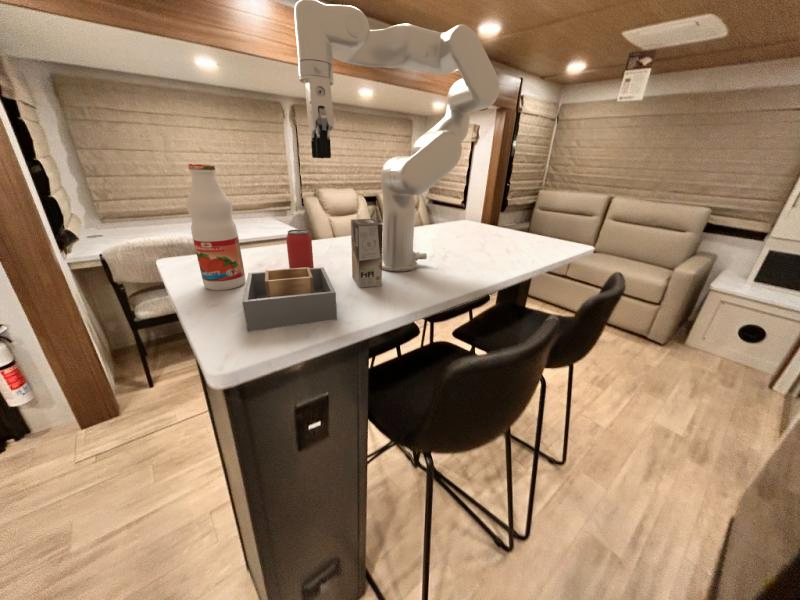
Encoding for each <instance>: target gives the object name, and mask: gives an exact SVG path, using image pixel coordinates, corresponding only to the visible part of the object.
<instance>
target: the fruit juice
mask: <svg viewBox="0 0 800 600" xmlns="http://www.w3.org/2000/svg"><path fill="white" fill-rule="evenodd" d="M188 169H189V172H190V173H191V185H190V190H189V194H188V196H187V198H186V201H185V207H186V211H187V212H188V214H189V216H190V219H191V224H190V225H191V227H190V230H191V236H192V240H193V245H194V247H195V252H196V253H195V254H196V257H197V261H198V266H199V269H200V274H201V279H202V283H203V285H204V288H206V289H207V290H211V291H226V290H232V289H235V288H240V287H241V286H243V285H244V284H246V274H245V268H244V261H243V257H242V251H241V246H240V240H239V232H238V229H237V225H236V223H235V222H234V219H233V210H234V207H233V205H232V202H231V200H230V198H229V196H228V195H226V194H225V192H224V191H223V189H222V187H221V185H220V183H219V181H218V180H217V177H216V167H215V165H214V164H211V163H210V164H208V163H207V164H206V163H205V164H204V163H188Z"/></svg>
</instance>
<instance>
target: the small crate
mask: <svg viewBox="0 0 800 600" xmlns="http://www.w3.org/2000/svg"><path fill="white" fill-rule="evenodd" d="M264 272H265V285H266V291H267V298H270V297H280V296H290V295H300V294H310V293H314V286H313V277H312V274H311V271H310V269H309V267H305V268H291V269H289V268H281V269H268V270H266V269H265V270H264Z"/></svg>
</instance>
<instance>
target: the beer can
mask: <svg viewBox="0 0 800 600" xmlns="http://www.w3.org/2000/svg"><path fill="white" fill-rule="evenodd" d="M285 241H286V248H287V249H286V250H287V259H288V267H289V268H288V269H291V268H305V267H309V268H315V267H314V266H315V265H314V253H313V243H312V242H313V240H312V237H311V234H310V231H309V230H307V229H302V228H301V229H296V228H295V229H289V230H287V235H286V240H285Z"/></svg>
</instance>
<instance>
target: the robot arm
mask: <svg viewBox="0 0 800 600" xmlns="http://www.w3.org/2000/svg"><path fill="white" fill-rule="evenodd" d="M293 10H294V12H293V13H294V26H295V38H296V49H297V51H296V54H297V62H298V63H297V64H298V66H297V67H298V76H299V77H298V79H299V82H300V83H302V84H303V85H304V86H305V87H304V88H305V90H304V91H305V104H306V111H307V112H306V114H307V123H308V129H309V131H310V133H311V138H310V139H311V140H310V146H311V157H312V158H313V159H331V158H332V149H331V148H332V146H331V139H330V138H331V137H330V132H332V131H333V130H334V128H335V121H334V110H333V98H332V97H333V96H332V89H331V88H332V87H331V86H334V67H333V63H334V61H333V59H335V60H337V61H339V62H341V63H346V64H351V65H355V66H362V67H368V68H369V67H370V68H388V69H397V68H400V69H406V70H410V71H411V70H412V71H417V72H423V73H426V74H431V75H437V76H447V75H450V74H453V73H455V72H459V74H460V76H461V78H460V79H458V80H456V81H454V82H453V84H452V85H451V86H450V88H449V90H448V93H447V96H446V108H445V109H446V110H445V114H444V116H443V117H442V118H441V119H440V120H439V121H438V122H437V123H436V124H435V125H433V126H432V127H431V128H430V129H428V131H426V132H425V133H423V134H422V135H421V136H420V137H418V138H417V139H416V140H415V142H414V144H413V145H412V147H411V155H398V156H393V157H391V158H389V159H387V161H385V163H384V164H383V165H382V169H381V171H380V185H381V193H382V225H383V229H382V270H384V271H388V272H408V271H412V270H415V269H417V266H418V262H417V261H419V260H427V257H428V255H427V253H426V252H421V253H420V252H419V251H418V252H416V251H414V235H415V234H414V233H415V219H416V218H415V217H416V200H415V196H418V195H421V194H423V193H425V192H427V191H428V190H430V189H431V188H432V187H434V186H435V185H436V184H437V183H438V182H440V180H442V179H443V178H445V176H447V175H448V174H449V173H450V172H451V171H452V170H453V169H454V168H455V167H456V166H457V164H458V162H459V160H460V159H461V156H462V151H463V144H462V143H463V142H464V140H465V139H466V137H467V135H468V133H469V128H470V127H469V126H470V115H471V114H470V113H471V112H477V111H482V110H485V109H488V108H489V107H491V106H493V105H494V104H495V102H496V101H497V99H498V97H499V94H500V80H499V77H498V75H497V72H496V69H495V68H494V66H493V64H492V62H491V60H490V58H489V56H488V54H487V52H486V50H485V48H484V46H483V44H482V42H481V41H480V39H479V38H478V36H477V34H476V32H474V30H473V29H472V28H471V27H470V26H468V25H466V24H462V23H461V24H458V25H455V26H454V27H452V28H450V29H449V30H447V31H444V32H442V31H441V32H440V31H436V30H431V29H428V28H424V27H422V26H421V27H420V26H419V25H414V24H411V23H399V24H395V25H392V26H389V27H386V28H381V29H370V24H369V21H368V18H367V17H366V14H365V13H364V12H363V11H362V10H361V9H359V8H357V7H356V6H353V5H348V4H346V5H345V4H343V5H342V4H326V3H323V2H321V1H319V0H298V1H297V2H296V3H295V5H294V9H293Z"/></svg>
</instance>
